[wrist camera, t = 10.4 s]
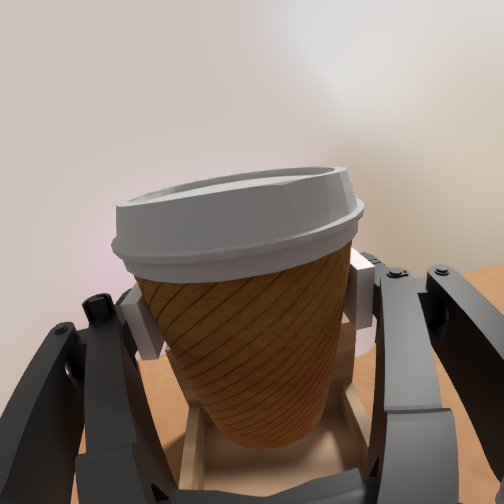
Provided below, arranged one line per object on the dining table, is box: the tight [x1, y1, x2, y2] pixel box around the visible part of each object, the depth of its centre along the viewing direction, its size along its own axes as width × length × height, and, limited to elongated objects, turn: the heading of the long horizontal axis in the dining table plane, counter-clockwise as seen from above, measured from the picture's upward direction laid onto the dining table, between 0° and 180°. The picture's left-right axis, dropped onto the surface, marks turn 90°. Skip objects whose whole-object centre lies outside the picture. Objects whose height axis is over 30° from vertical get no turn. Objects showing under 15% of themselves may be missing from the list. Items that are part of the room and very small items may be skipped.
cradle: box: [165, 312, 371, 497], centre depth 16 cm, size 16×15×11 cm
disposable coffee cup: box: [111, 166, 364, 449], centre depth 12 cm, size 10×10×12 cm
